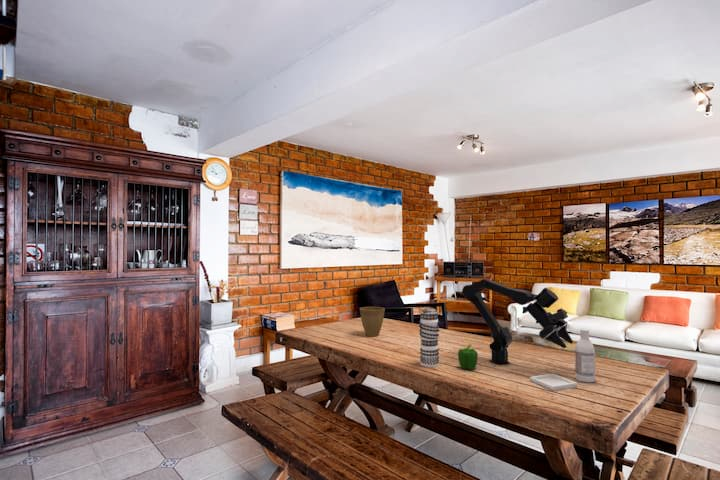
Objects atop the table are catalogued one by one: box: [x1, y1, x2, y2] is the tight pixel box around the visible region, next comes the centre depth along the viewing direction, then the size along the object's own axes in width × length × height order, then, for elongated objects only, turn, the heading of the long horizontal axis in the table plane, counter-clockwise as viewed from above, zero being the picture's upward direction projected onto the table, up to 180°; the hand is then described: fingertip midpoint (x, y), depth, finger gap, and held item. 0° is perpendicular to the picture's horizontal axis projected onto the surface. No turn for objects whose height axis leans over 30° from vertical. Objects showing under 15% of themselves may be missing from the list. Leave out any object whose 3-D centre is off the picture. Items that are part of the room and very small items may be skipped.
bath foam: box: [574, 328, 596, 383], centre depth 159 cm, size 7×7×20 cm
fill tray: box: [529, 373, 578, 392], centre depth 154 cm, size 12×12×2 cm
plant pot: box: [359, 306, 386, 338], centre depth 237 cm, size 15×15×16 cm
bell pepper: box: [457, 343, 479, 370], centre depth 175 cm, size 8×8×10 cm
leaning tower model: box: [418, 307, 441, 368], centre depth 181 cm, size 9×9×25 cm
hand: (569, 345), depth 163 cm, fingers open, 9 cm apart
